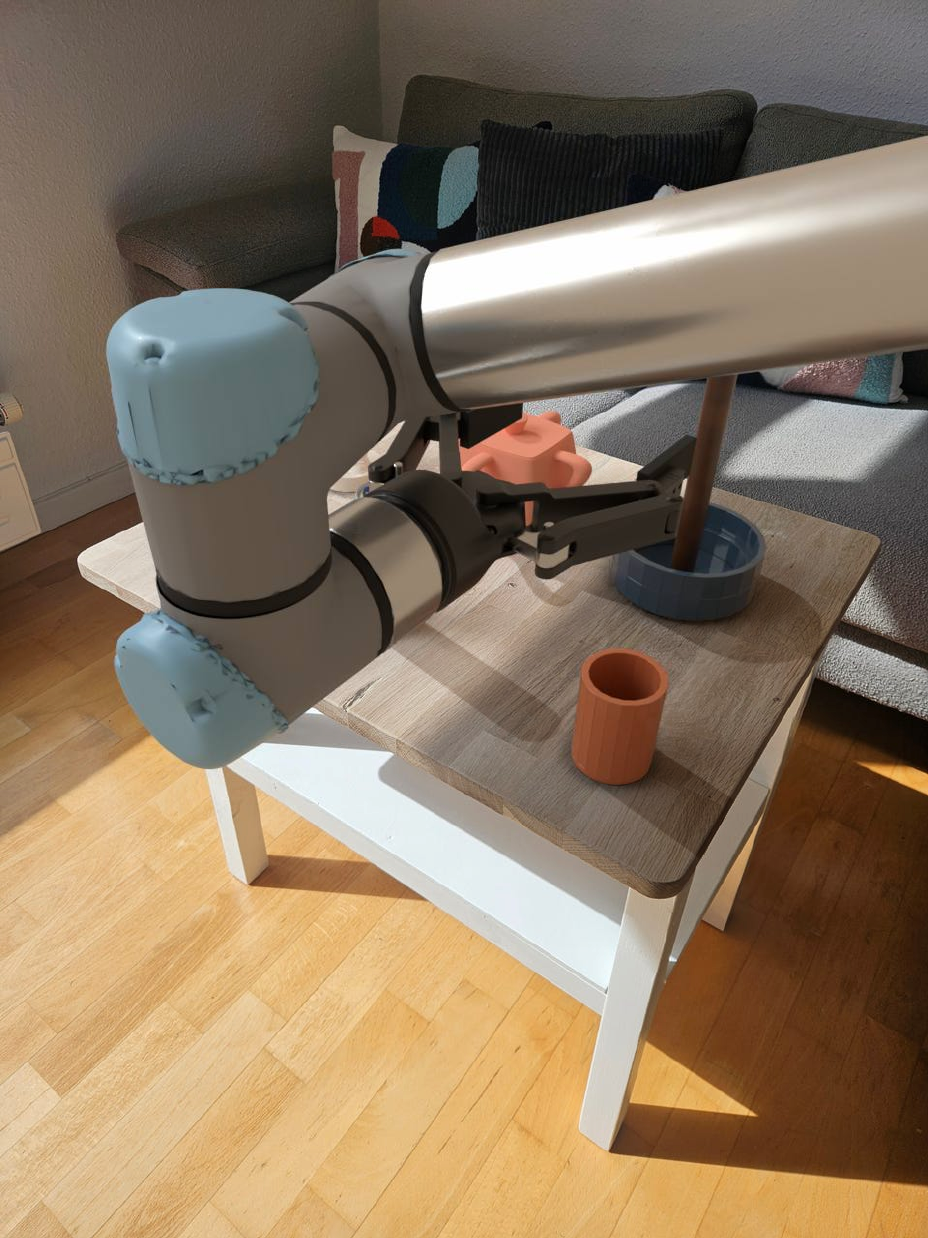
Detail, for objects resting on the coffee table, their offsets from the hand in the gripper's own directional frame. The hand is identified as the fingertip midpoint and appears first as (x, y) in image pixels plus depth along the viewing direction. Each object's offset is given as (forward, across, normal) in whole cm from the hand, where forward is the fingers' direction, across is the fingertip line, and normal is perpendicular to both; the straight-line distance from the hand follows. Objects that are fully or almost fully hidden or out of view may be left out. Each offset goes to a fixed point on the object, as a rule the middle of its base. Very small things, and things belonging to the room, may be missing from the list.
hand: (599, 425), depth 60 cm
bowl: (+26, -2, -28) cm, 38 cm away
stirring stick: (+26, -2, -28) cm, 38 cm away
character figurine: (+20, -46, -28) cm, 57 cm away
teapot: (+24, -24, -28) cm, 45 cm away
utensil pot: (-1, +6, -28) cm, 29 cm away
